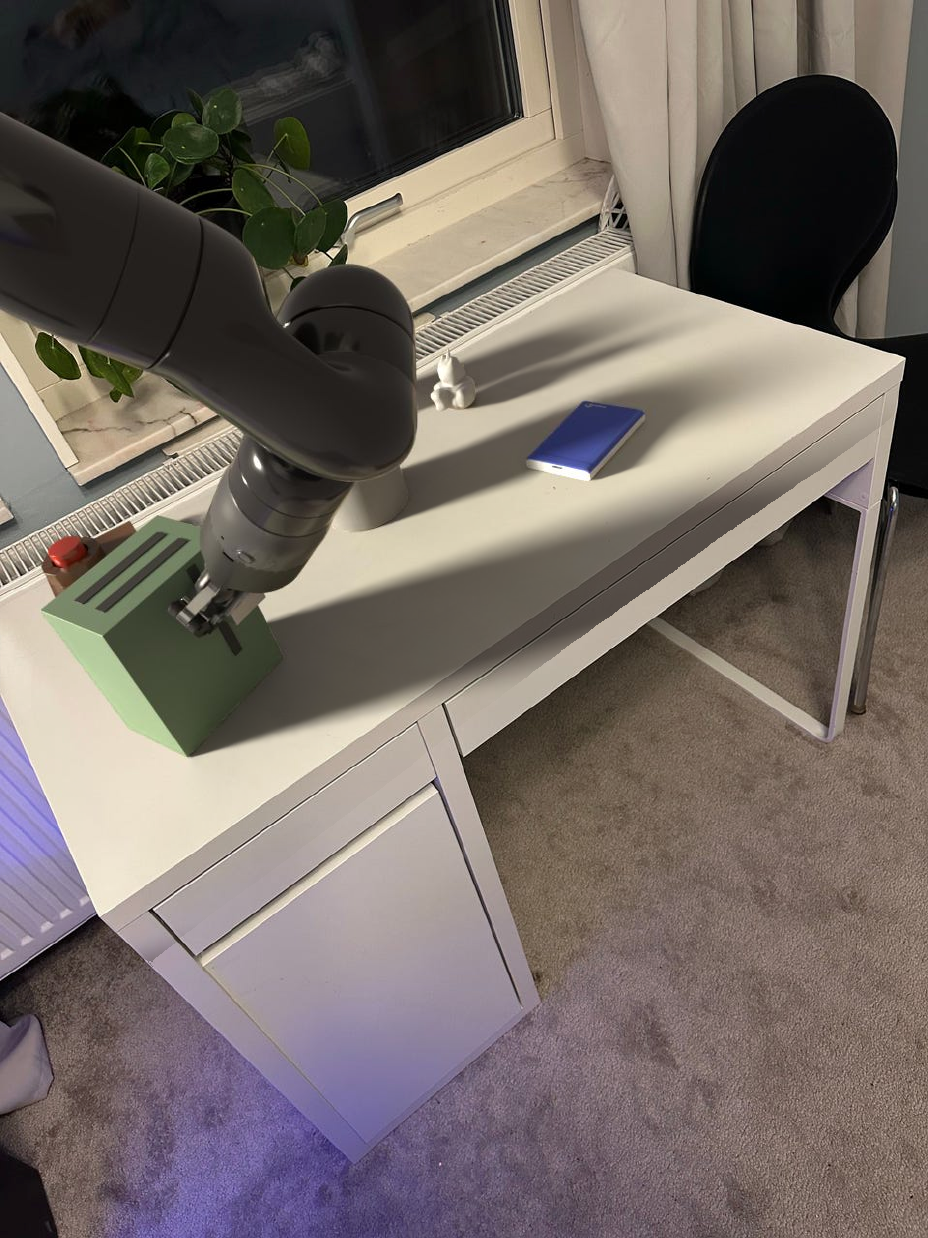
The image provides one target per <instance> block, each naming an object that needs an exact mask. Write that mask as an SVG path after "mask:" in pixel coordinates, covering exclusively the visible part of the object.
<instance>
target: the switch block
mask: <svg viewBox="0 0 928 1238" xmlns="http://www.w3.org/2000/svg"><path fill="white" fill-rule="evenodd" d="M137 531H138V530H137V529H136V527H135V526H134V525H133V523H132V522H131V520H128V521H126V522H124V523H121V524H120V525H117V526H116V527H114V528H112V529H110V530H108V531H106V532H104V533H102V534H100V535H98V536H96V537H89V536H81V537H78V538H79V539H80V540H81V542H82V543H83V545H84V546H85V548H86V549H87V554H86V555H85V556H84V557H83V558H82V559H81V560H80V561H78V562H76V563H74V564H72V565H70V566H67V567H63V568H59V567H57V566H56V564H55V563H54V562H53V560H52V559H51V557H50V556H49V554H48V553H47V555H45V557H44V559H43V561H42V563H41V565H40V568H41V570H42V573H43V574H44V576H45V578H46V580H47V582H48V584H49V586H50V589H51V591H52V594H53V596H54V598H56V597H57V596H58V595H59V594H61V593H62V592H63V591H64V590H66V589H67V588H68V587H69V586H70V585H72V584H73V583H74V582H75V581H77V580H78V579H79V578H80V577H82V576H83V575H84V574H85V573H86V572H88V571H89V570H90V569H91V568H93V567H94V566H95V565H96V564H98V563H99V562H100V561H101V560H102V559H104V558H105V557H106V556H107V555H109V554H110V553H111V552H112V551H114V550H115V549H116V548H117V547H118V546H120V545H121V544H122V543H123V542H125V541H126V540H127V539H128V538H130V537H131V536H132V535H133V534H134V533H136V532H137Z"/></svg>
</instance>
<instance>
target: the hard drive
mask: <svg viewBox="0 0 928 1238" xmlns="http://www.w3.org/2000/svg"><path fill="white" fill-rule="evenodd" d="M645 420H646V414H645V411H644V410H643V409H639V408H635V407H629V406H628V407H627V406H621V405H615V404H608V403H602V402H595V401H590V400H583V401H581V402H580V403H579V404H578V405H577V406H576V407H575V408H574V409H573V411H572V412H570V413H569V414H568V415H567V416H566V417H565V418H564V419H563V420H562V421H561V423H560V424H558V425H557V426H556V428H554V430H553V431H551V432H550V434H548V436H546V438H545V439H543V440H542V441H541V443H540V444H539V445H538V446H537V447H535V448H534V450H533V451H532V452H531V453H529V454H528V455H527V457H526V458H525V461H526V467H527V468H528V469H530V470H534V471H540V472H544V473H550V474H553V475H559V476H563V477H567V478H572V479H576V480H581V481H586V482H587V481H588V482H589V481H591V480H592V479H593V478H594V477H595V476H596V474H598V472H599V471H600V470H601V469H602V468H604V466H605V465H606V464H607V463H608V462H609V461H610V459H611V458H612V457H613V456H615V454H616V453H617V451H618V450H619V449H621V447H622V446H623V445H624V444H625V443H626V442H627V440H628V439H630V437H631V436H633V434H634V433H635V431H637V430H638V428H640V426H641V425H642V424H643V423H644V422H645Z"/></svg>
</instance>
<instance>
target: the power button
mask: <svg viewBox="0 0 928 1238" xmlns="http://www.w3.org/2000/svg"><path fill="white" fill-rule="evenodd" d="M79 538H80V537H78V536H77V535H68V536H64V537H62V538H59V539H58V540H56V541H55V542H53V543H52V544H51V545H50V547H49V548H48V549H47V555H48V554H49V556H50V557H51V559H52V560H53V562H54V563H55V564H56V566H57V567H59V568H63V567H67V566H70V565H72V564H74V563H76V562H78V561H80V560H81V559H82V558H83V557H84V556H85V555H86V554H87V549H86V548H85V546H84V545H83V543H82V542H81V540H80V539H79Z"/></svg>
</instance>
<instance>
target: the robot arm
mask: <svg viewBox="0 0 928 1238" xmlns="http://www.w3.org/2000/svg"><path fill="white" fill-rule="evenodd" d="M259 271H260V270H259V267H258V265H257V262H256V260H255V257H254V255H253V254H252V252H251V251H250V249H249V248H248V246H247V245H246V244H245V243H244V242H243V241H241V240H240V239H239V238H238V237H237V236H235V235H234V234H232V233H231V232H229V231H228V230H226V229H224V228H223V227H222V226H219V225H218V224H216V223H214V222H213V221H211V220H209V219H208V218H205V217H204V216H201V215H199V214H197V213H195V212H194V211H192V210H190V209H188V208H187V207H184V206H183V205H181V204H179V203H177V202H176V201H173V200H171V199H170V198H167V197H166V196H164V195H162V194H160V193H158V192H157V191H154V190H153V189H151V188H150V187H147V186H145V185H143V184H141V183H139V182H138V181H135V180H134V179H131V178H130V177H128V176H126V175H124V174H122V173H120V172H118V171H116V170H114V169H113V168H110V167H109V166H107V165H105V164H103V163H101V162H99V161H97V160H95V159H93V158H91V157H89V156H87V155H85V154H84V153H82V152H79V151H78V150H75V148H72V147H70V146H68V145H66V144H65V143H62V142H60V141H59V140H56V139H54V138H52V137H50V136H48V135H46V134H44V133H42V132H41V131H38V130H36V129H34V128H32V127H31V126H28V125H26V124H25V123H23V122H20V121H19V120H17V119H15V118H13V117H11V116H9V115H7V114H5V113H4V112H1V111H0V310H1V311H2V312H4V313H5V314H8V315H10V316H12V317H14V318H16V319H18V320H19V321H20V320H21V321H22V322H23V323H26V324H28V325H30V326H32V327H34V328H37V329H39V330H41V331H43V332H46V333H49V334H50V335H52V336H55V337H58V338H59V339H62V340H64V341H67V342H70V343H72V344H74V345H77V346H80V347H81V348H84V349H87V350H89V351H91V352H95V353H97V354H99V355H101V356H105V357H108V358H109V359H112V360H115V361H117V362H120V363H123V364H124V365H128V366H130V367H133V368H135V369H138V370H143V371H144V372H146V373H149V374H151V375H154V376H157V377H158V378H159V377H160V378H162V379H165V380H168V381H169V382H172V383H173V384H175V385H176V386H178V387H179V388H180V389H182V390H183V391H185V393H188V394H189V395H190V396H191V397H192V398H194V399H195V400H196V401H198V402H199V403H200V404H202V405H204V406H205V407H206V408H207V409H209V410H210V411H211V412H213V413H214V414H216V415H217V416H218V417H221V418H222V419H224V420H225V421H227V422H228V423H229V424H230V425H232V426H233V427H235V428H236V429H238V430H239V431H240V432H242V433H243V435H242V437H241V440H240V441H239V443H238V446H237V449H236V451H235V454H234V456H233V459H232V461H231V462H230V464H228V466H227V467H226V469H225V470H224V472H223V474H222V475H221V477H220V479H219V481H218V483H217V487H216V489H215V492H214V494H213V496H212V498H211V502H210V504H209V506H208V509H207V511H206V514H205V516H204V519H203V521H202V523H201V526H200V527H201V530H200V547H201V551H202V555H203V558H204V561H205V563H204V567H205V569H204V571H203V573H202V574H201V576H200V577H199V579H198V580H197V582H196V584H195V589H196V590H197V594H196V596H195V597H194V598H193V599H192V601H191V600H190V599H189V598H188V597H186V596H184V597H183V598H182V599H181V600H180V599H178V600H176V601H173V602H172V603H171V604H170V605H169V606H170V607H169V609H168V610H167V611H168V612H169V613H170V614H171V615H172V616H173V617H174V618H175V619H177V620H178V621H179V622H180V623H181V624H182V625H183V626H185V627H186V628H187V629H188V630H189V631H190V632H191V633H193V634H194V635H195V636H197V637H198V638H201V637H202V636H203V635H204V636H205V635H206V634H211V633H212V632H213V631H214V630H215V629H216V628H217V626H218V625H219V623H220V622H221V621H222V620H223V616H224V615H226V616H229V615H230V614H231V613H232V612H233V611H234V610H235V609H236V608H237V607H239V605H240V604H241V603H242V601H243V600H245V599H246V598H247V597H248V596H249V595H250V594H251V593H264V594H268V593H273V592H276V591H279V590H281V589H283V588H286V587H287V586H288V585H290V584H291V583H293V582H294V580H296V578H297V577H298V576H299V575H300V573H301V572H302V570H303V569H304V568H305V566H306V565H307V564H308V562H309V561H310V560H311V558H312V556H313V555H314V553H315V552H316V551H317V549H318V548H319V546H320V545H322V542H323V541H324V540H325V538H326V536H327V534H329V533H328V532H329V531H330V529H331V528H332V527H331V524H332V521H333V519H334V517H335V515H336V514H337V512H338V511H339V509H340V508H341V507H342V505H343V504H344V502H345V501H346V499H347V498H348V497H349V495H350V493H351V492H352V490H353V488H354V487H355V484H356V482H357V481H365V480H370V479H375V478H378V477H381V476H383V475H385V474H387V473H389V472H391V471H393V470H395V469H396V468H397V467H398V466H400V467H401V465H402V464H403V463H405V461H406V460H407V459H408V457H409V455H410V454H411V452H412V449H413V447H414V446H415V442H416V439H417V432H418V423H419V422H418V421H419V420H418V419H419V418H418V417H419V416H418V414H419V413H418V412H419V410H418V380H417V379H418V377H417V376H418V375H417V335H416V325H415V320H414V316H413V313H412V310H411V308H410V307H411V306H410V305H409V302H408V301H407V298H406V297H405V295H404V294H403V292H402V291H401V290H400V288H399V287H398V286H397V285H396V284H395V283H394V282H393V281H392V280H390V278H388V277H387V276H385V275H384V274H382V273H381V272H379V271H377V270H376V269H374V268H370V267H368V266H364V265H360V264H353V263H351V264H349V263H343V264H342V263H341V264H334V265H330V266H326V267H324V268H321V269H318V270H316V271H314V272H312V273H310V274H308V275H307V276H305V277H304V278H303V279H301V280H300V281H299V282H298V283H296V285H295V286H294V287H293V288H292V289H291V290H290V291H289V292H288V293H287V295H286V296H285V298H284V300H283V301H282V303H281V305H280V307H279V309H278V311H277V314H276V316H275V315H274V314H273V312H272V310H271V309H270V306H269V303H268V301H267V297H266V295H265V291H264V287H263V283H262V279H261V275H260V272H259Z"/></svg>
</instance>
